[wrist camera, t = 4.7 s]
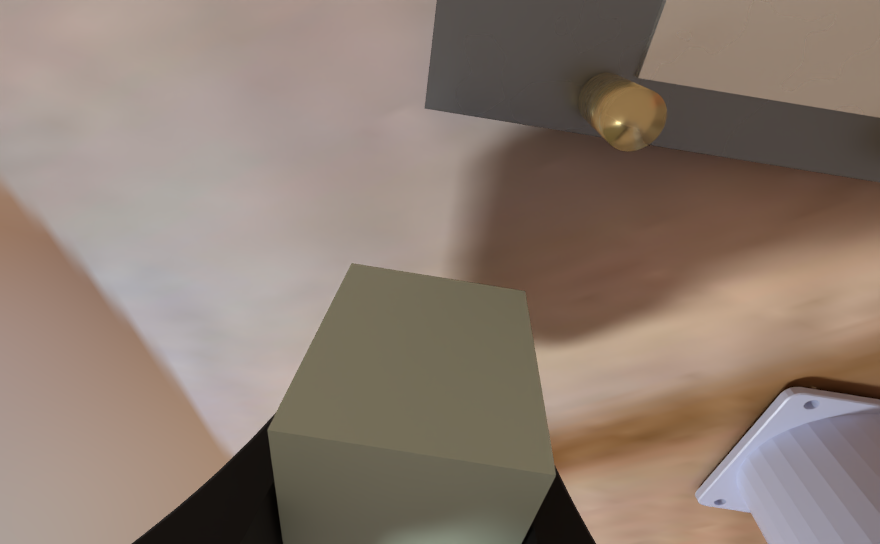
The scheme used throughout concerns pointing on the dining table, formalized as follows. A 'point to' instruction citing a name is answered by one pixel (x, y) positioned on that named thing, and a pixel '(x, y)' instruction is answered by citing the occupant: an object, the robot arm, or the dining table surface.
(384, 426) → the board block
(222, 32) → the dining table surface
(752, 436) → the robot arm
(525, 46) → the chassis
